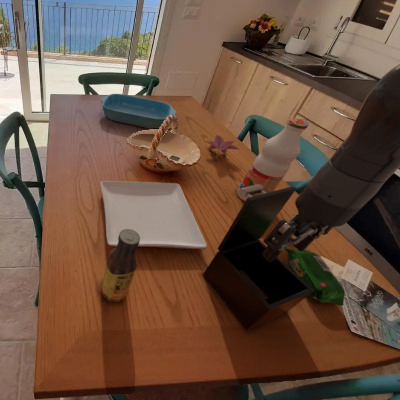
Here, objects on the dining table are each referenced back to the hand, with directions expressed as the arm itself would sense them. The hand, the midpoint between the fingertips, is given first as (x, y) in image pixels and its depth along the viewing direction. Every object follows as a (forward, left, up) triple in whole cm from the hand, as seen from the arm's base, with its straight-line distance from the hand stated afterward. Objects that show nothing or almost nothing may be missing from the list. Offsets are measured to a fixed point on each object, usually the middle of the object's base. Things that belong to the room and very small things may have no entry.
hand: (282, 252), depth 54 cm
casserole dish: (+93, -21, -17) cm, 97 cm away
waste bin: (0, 0, -17) cm, 17 cm away
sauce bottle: (+11, +30, -17) cm, 36 cm away
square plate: (+30, +10, -17) cm, 36 cm away
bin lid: (+7, 0, +2) cm, 8 cm away
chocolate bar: (0, 0, -16) cm, 16 cm away
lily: (+53, -38, -17) cm, 67 cm away
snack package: (-2, -19, -17) cm, 25 cm away
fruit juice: (+28, -31, -17) cm, 45 cm away
